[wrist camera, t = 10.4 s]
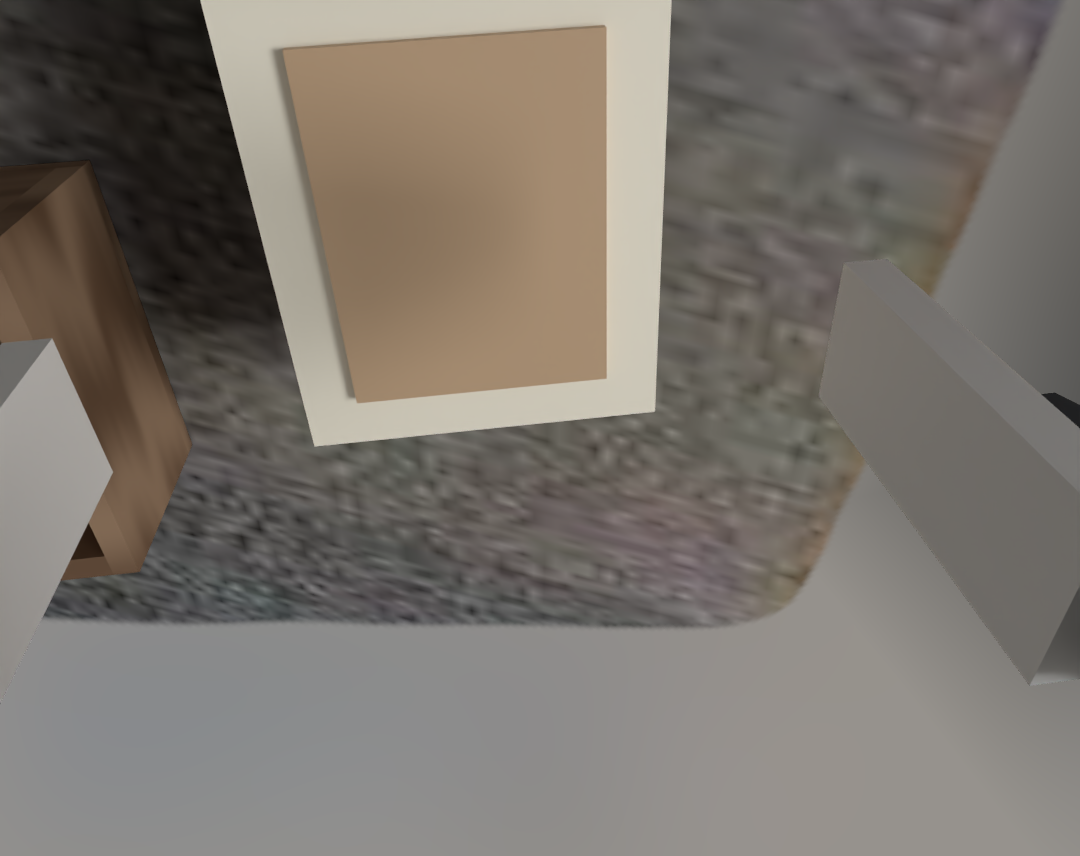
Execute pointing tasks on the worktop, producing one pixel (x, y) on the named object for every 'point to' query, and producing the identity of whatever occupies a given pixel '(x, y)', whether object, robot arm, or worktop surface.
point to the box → (93, 349)
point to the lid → (455, 203)
